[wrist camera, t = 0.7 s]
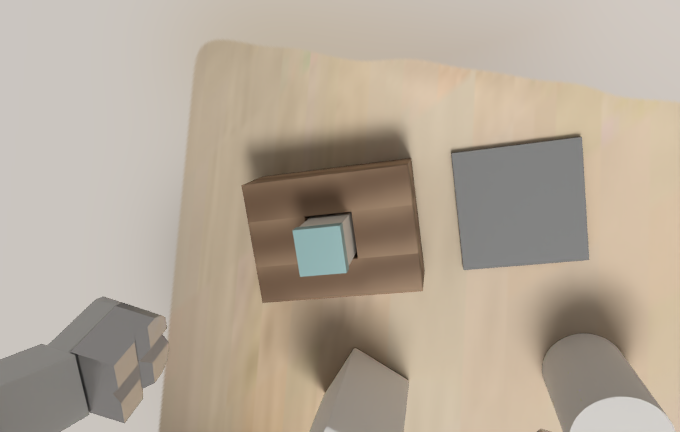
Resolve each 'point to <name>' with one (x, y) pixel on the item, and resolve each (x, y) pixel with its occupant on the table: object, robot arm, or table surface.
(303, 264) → the plug
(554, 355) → the cup
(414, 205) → the block
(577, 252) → the mat
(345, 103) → the table surface
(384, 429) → the milk carton
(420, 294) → the table surface
